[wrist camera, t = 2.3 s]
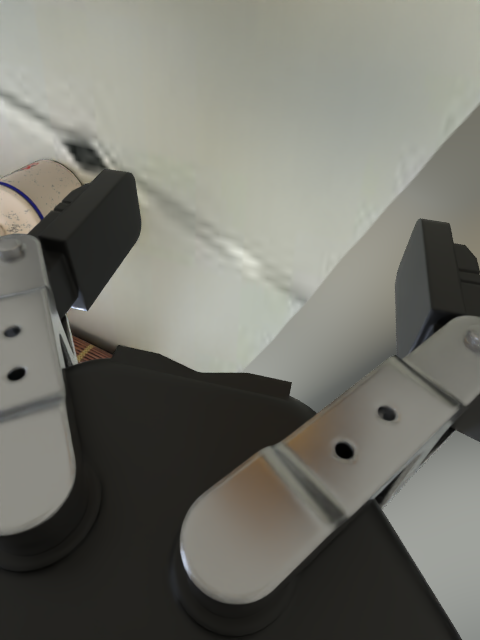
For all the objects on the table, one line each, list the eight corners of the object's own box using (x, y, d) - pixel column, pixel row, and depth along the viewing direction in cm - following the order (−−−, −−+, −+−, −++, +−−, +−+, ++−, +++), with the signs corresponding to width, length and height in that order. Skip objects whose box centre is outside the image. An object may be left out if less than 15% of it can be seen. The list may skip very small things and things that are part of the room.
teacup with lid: (36, 140, 50) (-42, 173, 42) (100, 190, 52) (38, 233, 43) (14, 210, 58) (-55, 251, 49) (71, 252, 60) (13, 299, 51)
